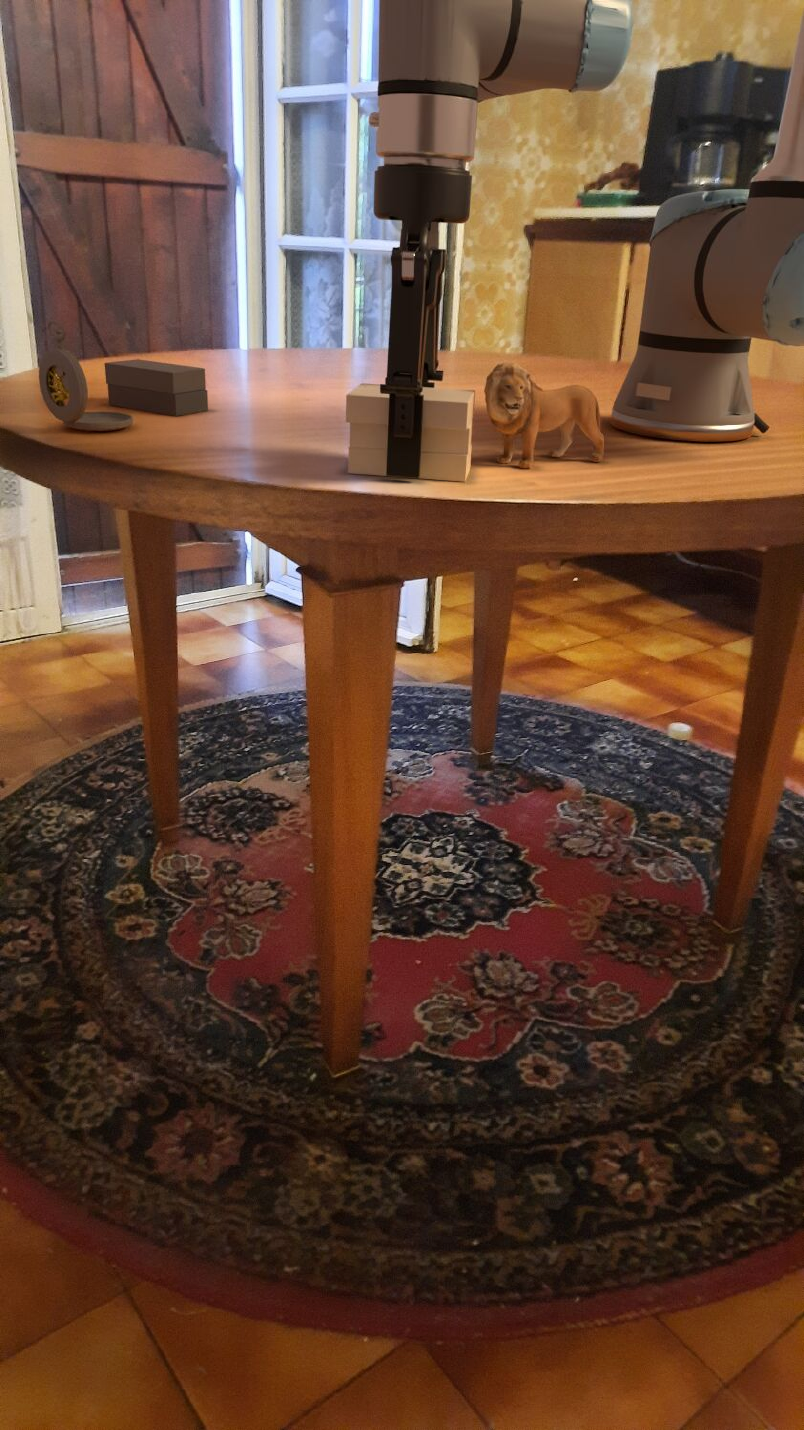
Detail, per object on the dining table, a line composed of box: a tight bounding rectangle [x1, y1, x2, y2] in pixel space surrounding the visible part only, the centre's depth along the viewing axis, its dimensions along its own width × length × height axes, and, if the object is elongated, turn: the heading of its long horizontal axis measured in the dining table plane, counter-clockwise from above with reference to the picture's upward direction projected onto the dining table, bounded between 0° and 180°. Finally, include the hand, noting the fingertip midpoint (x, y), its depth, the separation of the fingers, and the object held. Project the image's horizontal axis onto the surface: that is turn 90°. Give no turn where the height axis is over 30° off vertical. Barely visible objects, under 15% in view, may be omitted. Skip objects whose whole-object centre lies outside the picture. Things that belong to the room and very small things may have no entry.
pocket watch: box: [38, 320, 134, 432], centre depth 97 cm, size 8×8×10 cm
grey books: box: [104, 358, 209, 417], centre depth 111 cm, size 10×5×4 cm, turn 58°
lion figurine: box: [483, 361, 605, 470], centre depth 92 cm, size 15×5×9 cm, turn 127°
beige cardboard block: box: [347, 417, 474, 483], centre depth 87 cm, size 10×5×4 cm, turn 82°
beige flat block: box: [345, 382, 476, 430], centre depth 86 cm, size 10×7×2 cm
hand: (409, 465), depth 88 cm, fingers closed on beige flat block, 7 cm apart
